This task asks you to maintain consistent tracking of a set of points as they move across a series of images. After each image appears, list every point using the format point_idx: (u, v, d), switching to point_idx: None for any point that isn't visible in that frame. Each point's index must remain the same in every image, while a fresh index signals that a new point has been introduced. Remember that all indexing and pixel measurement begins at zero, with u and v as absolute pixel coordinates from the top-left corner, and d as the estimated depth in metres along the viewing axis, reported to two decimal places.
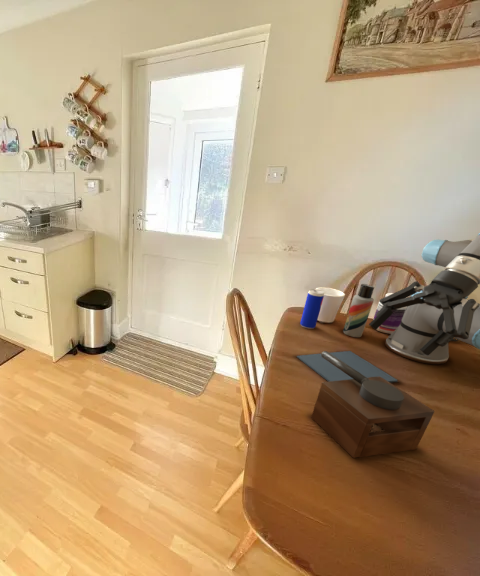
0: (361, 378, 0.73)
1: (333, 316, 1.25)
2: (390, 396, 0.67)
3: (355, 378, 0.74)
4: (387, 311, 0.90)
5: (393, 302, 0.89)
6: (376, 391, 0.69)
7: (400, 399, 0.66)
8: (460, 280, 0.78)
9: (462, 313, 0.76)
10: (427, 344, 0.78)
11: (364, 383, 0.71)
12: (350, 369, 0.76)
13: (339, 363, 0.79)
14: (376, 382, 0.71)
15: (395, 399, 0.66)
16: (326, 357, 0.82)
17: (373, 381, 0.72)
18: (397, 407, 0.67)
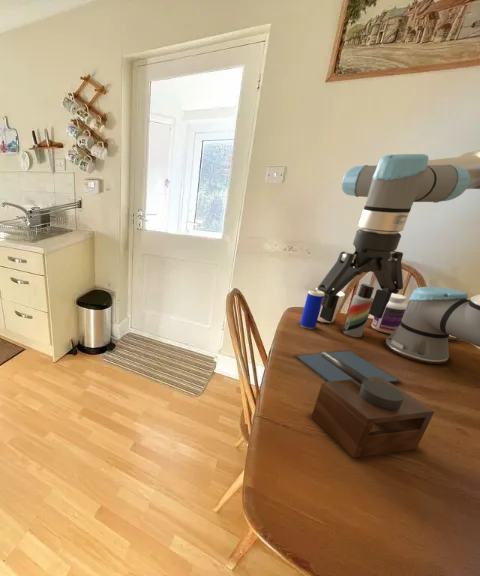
0: (361, 378, 0.73)
1: (333, 316, 1.25)
2: (390, 396, 0.67)
3: (355, 378, 0.74)
4: None
5: (340, 287, 0.71)
6: (376, 391, 0.69)
7: (400, 399, 0.66)
8: None
9: (397, 270, 0.71)
10: (382, 311, 0.75)
11: (364, 383, 0.71)
12: (350, 369, 0.76)
13: (339, 363, 0.79)
14: (376, 382, 0.71)
15: (395, 399, 0.66)
16: (326, 357, 0.82)
17: (373, 381, 0.72)
18: (397, 407, 0.67)
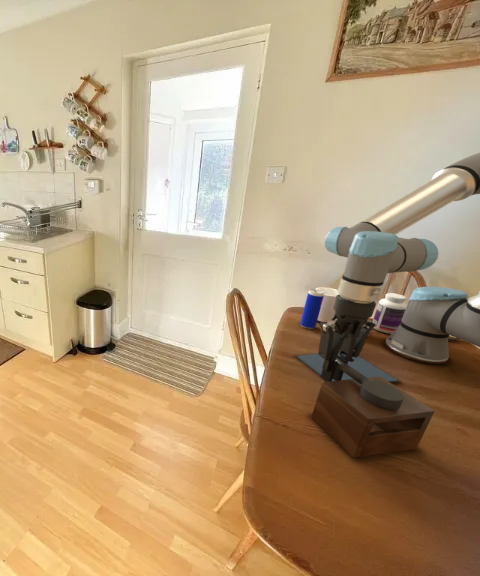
0: (361, 378, 0.73)
1: None
2: (390, 396, 0.67)
3: (355, 378, 0.74)
4: None
5: (335, 354, 0.78)
6: (376, 391, 0.69)
7: (400, 399, 0.66)
8: None
9: (363, 337, 0.77)
10: (340, 376, 0.81)
11: (364, 383, 0.71)
12: (350, 369, 0.76)
13: (339, 363, 0.79)
14: (376, 382, 0.71)
15: (395, 399, 0.66)
16: None
17: (373, 381, 0.72)
18: (397, 407, 0.67)
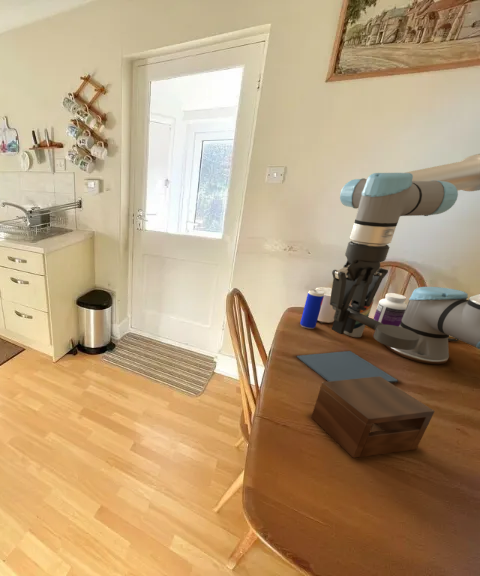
0: (375, 323, 0.72)
1: (333, 316, 1.25)
2: (406, 337, 0.66)
3: (368, 324, 0.73)
4: None
5: (347, 302, 0.77)
6: (391, 333, 0.68)
7: (416, 339, 0.65)
8: (387, 253, 0.71)
9: (376, 285, 0.76)
10: (352, 326, 0.80)
11: (378, 327, 0.70)
12: (363, 316, 0.75)
13: (351, 312, 0.78)
14: (390, 326, 0.71)
15: (410, 339, 0.65)
16: None
17: (387, 325, 0.71)
18: (413, 347, 0.66)
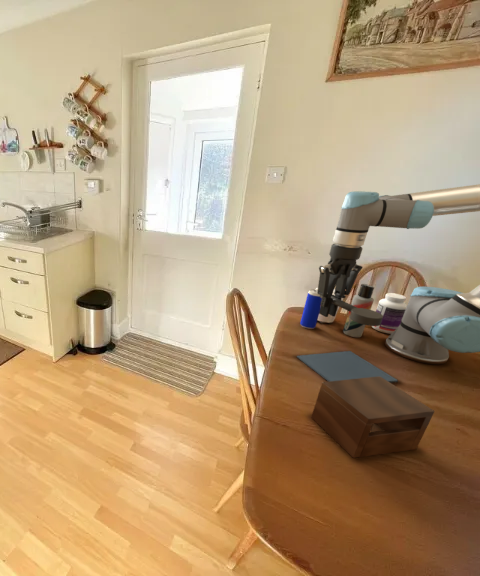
0: (351, 307, 0.94)
1: (333, 316, 1.25)
2: (373, 316, 0.87)
3: (346, 308, 0.95)
4: None
5: (331, 291, 0.98)
6: (362, 313, 0.89)
7: (380, 318, 0.86)
8: None
9: (353, 278, 0.98)
10: (335, 311, 1.01)
11: (353, 309, 0.91)
12: (342, 302, 0.96)
13: (334, 299, 0.99)
14: (362, 309, 0.92)
15: (376, 318, 0.86)
16: None
17: (360, 308, 0.92)
18: (378, 324, 0.87)
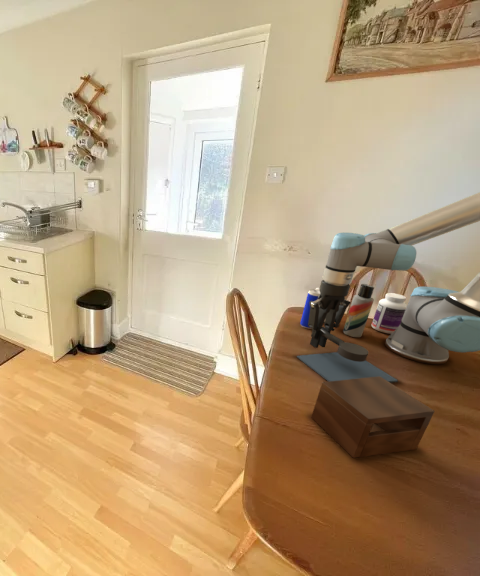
0: (339, 341, 0.99)
1: None
2: (359, 352, 0.92)
3: (335, 341, 1.00)
4: None
5: (320, 324, 1.03)
6: (349, 349, 0.94)
7: (365, 354, 0.92)
8: (348, 290, 0.98)
9: (342, 312, 1.03)
10: (325, 342, 1.06)
11: (341, 344, 0.97)
12: (331, 335, 1.01)
13: (323, 331, 1.04)
14: (349, 343, 0.97)
15: (361, 354, 0.92)
16: None
17: (347, 343, 0.97)
18: (363, 359, 0.92)
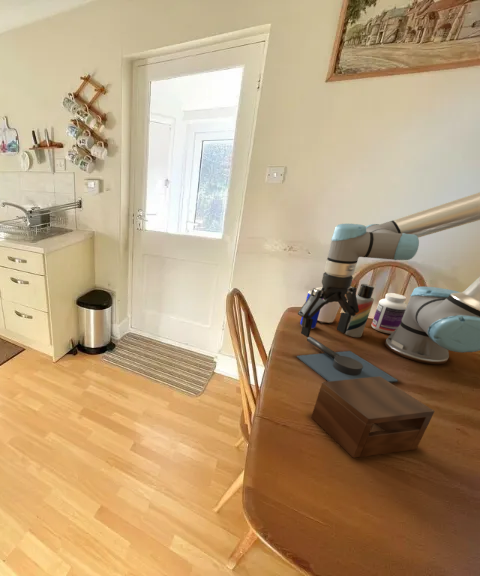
0: (334, 354, 1.01)
1: (333, 316, 1.25)
2: (353, 366, 0.94)
3: (330, 355, 1.02)
4: None
5: (313, 313, 1.01)
6: (344, 363, 0.96)
7: (360, 368, 0.93)
8: (351, 282, 0.97)
9: (353, 299, 1.01)
10: (345, 328, 1.05)
11: (336, 358, 0.99)
12: (327, 349, 1.03)
13: (319, 344, 1.06)
14: (344, 357, 0.99)
15: (356, 368, 0.93)
16: (310, 341, 1.09)
17: (342, 356, 0.99)
18: (358, 373, 0.94)
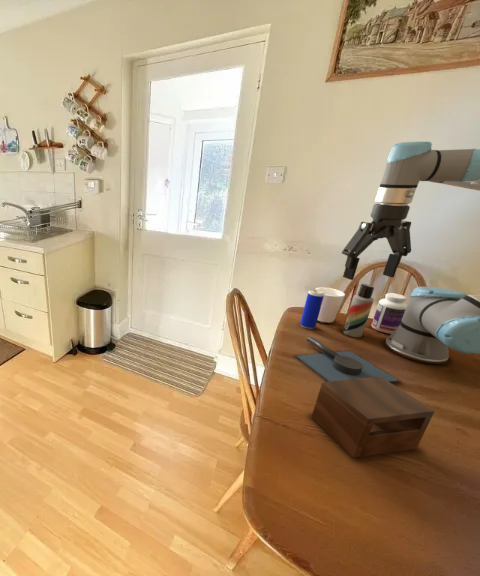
0: (334, 354, 1.01)
1: (333, 316, 1.25)
2: (353, 366, 0.94)
3: (330, 355, 1.02)
4: None
5: (360, 250, 0.88)
6: (344, 363, 0.96)
7: (360, 368, 0.93)
8: None
9: (406, 236, 0.88)
10: (394, 271, 0.92)
11: (336, 358, 0.99)
12: (327, 349, 1.03)
13: (319, 344, 1.06)
14: (344, 357, 0.99)
15: (356, 368, 0.93)
16: (310, 341, 1.09)
17: (342, 356, 0.99)
18: (358, 373, 0.94)
